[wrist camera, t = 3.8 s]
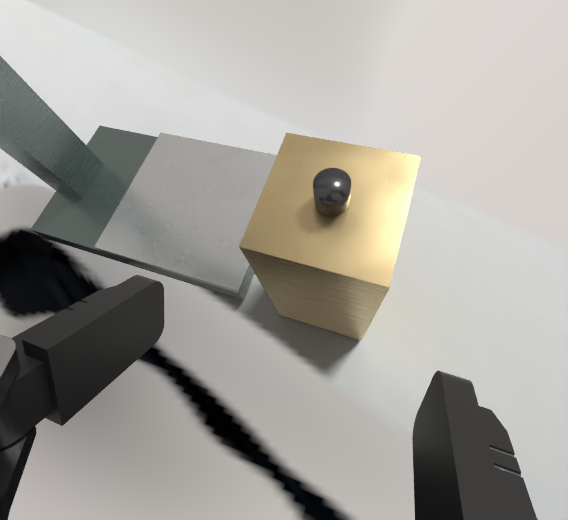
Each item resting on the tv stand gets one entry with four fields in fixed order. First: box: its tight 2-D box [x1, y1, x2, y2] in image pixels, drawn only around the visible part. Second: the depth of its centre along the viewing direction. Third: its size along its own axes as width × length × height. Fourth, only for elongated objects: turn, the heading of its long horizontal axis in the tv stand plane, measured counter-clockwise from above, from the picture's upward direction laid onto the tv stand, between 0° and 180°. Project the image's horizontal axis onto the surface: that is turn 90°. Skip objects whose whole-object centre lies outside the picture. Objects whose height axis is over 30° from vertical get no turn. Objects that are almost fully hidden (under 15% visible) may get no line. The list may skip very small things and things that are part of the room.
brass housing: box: [239, 133, 421, 340], centre depth 16 cm, size 5×5×11 cm
